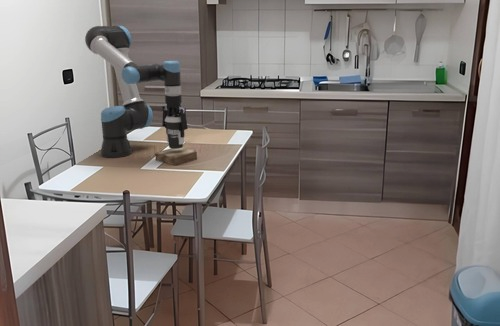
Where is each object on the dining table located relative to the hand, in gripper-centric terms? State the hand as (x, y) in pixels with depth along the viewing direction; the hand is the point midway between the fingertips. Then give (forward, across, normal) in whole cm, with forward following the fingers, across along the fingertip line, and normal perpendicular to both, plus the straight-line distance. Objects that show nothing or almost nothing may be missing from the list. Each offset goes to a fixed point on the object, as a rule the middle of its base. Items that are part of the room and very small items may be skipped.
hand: (175, 142), depth 234 cm
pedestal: (+9, 0, 0) cm, 9 cm away
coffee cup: (+2, 0, 0) cm, 2 cm away
